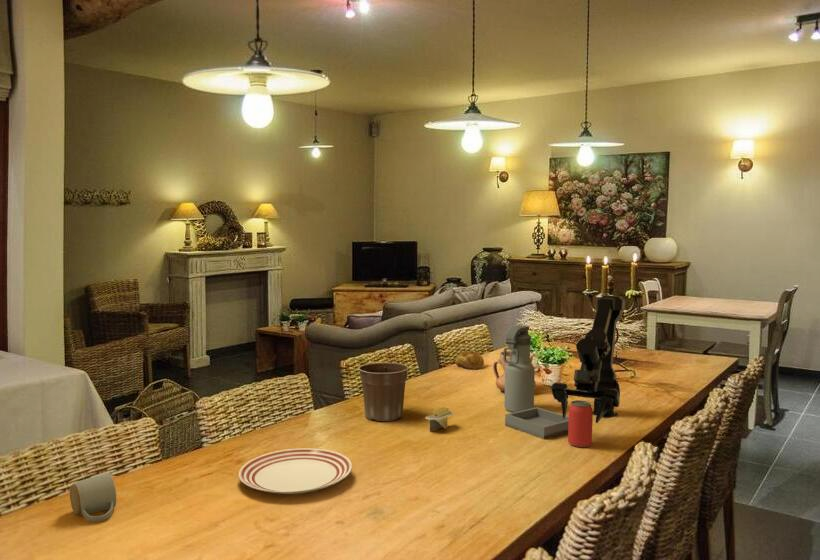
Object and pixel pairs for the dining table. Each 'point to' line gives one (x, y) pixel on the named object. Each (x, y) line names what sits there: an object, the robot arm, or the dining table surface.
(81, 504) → the ceramic mug
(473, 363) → the bread roll
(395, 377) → the plant pot
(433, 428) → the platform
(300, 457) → the dinner plate
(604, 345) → the robot arm
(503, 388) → the ceramic jug
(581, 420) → the beer can
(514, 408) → the water bottle
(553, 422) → the tray
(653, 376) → the dining table surface
